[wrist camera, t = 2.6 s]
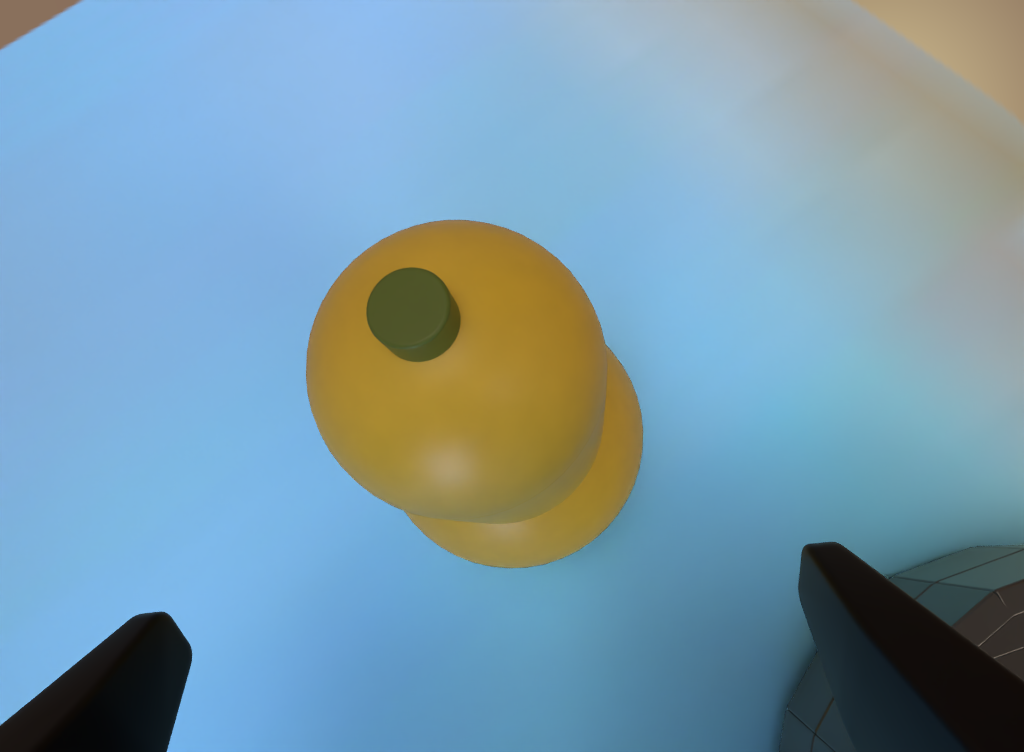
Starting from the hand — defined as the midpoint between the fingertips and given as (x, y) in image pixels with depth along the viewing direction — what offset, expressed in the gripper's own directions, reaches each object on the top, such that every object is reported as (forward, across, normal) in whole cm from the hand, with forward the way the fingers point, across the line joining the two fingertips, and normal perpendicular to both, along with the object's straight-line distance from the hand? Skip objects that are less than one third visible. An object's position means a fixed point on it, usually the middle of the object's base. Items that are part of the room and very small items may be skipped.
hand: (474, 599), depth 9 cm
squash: (+10, 0, +5) cm, 11 cm away
